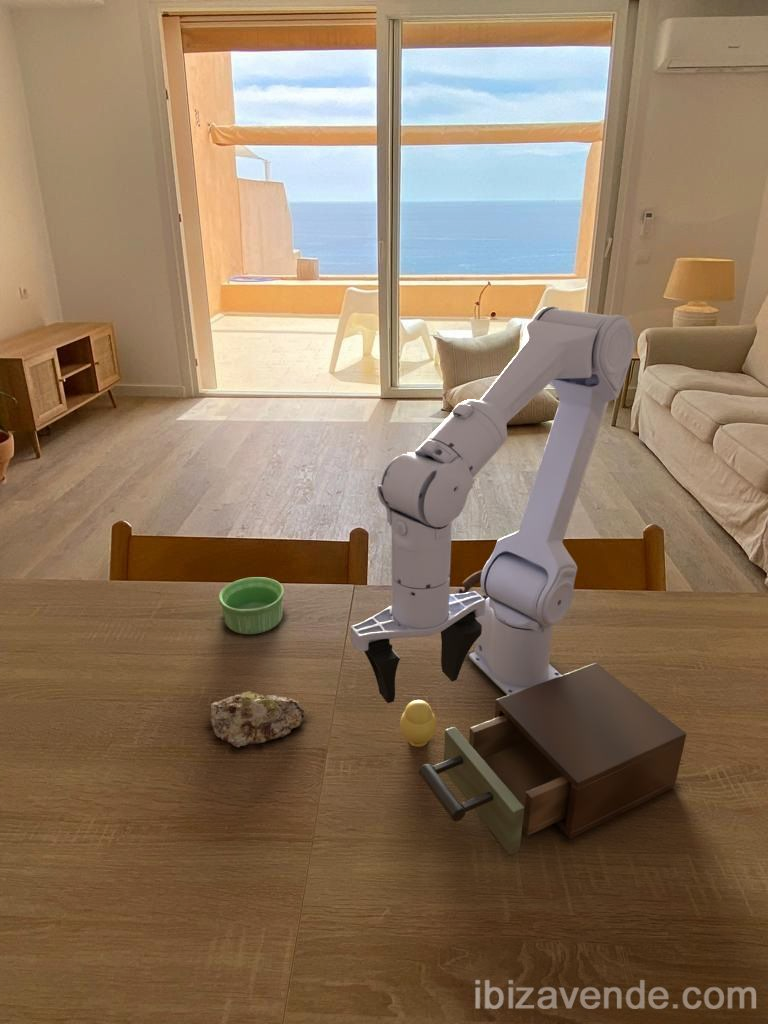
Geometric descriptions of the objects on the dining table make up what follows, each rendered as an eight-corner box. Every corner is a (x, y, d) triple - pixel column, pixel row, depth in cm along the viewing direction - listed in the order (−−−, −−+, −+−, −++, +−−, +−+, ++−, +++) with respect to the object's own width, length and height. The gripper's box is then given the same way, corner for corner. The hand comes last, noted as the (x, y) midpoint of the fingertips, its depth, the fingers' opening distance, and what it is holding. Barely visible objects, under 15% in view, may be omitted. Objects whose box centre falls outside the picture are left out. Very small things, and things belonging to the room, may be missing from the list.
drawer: (466, 875, 60) (469, 832, 58) (404, 785, 70) (404, 744, 67) (614, 804, 67) (622, 762, 65) (540, 730, 77) (544, 692, 74)
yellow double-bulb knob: (393, 734, 77) (393, 697, 75) (424, 722, 79) (425, 687, 77) (410, 757, 74) (411, 720, 72) (443, 745, 76) (444, 708, 74)
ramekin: (263, 595, 104) (260, 570, 103) (298, 620, 98) (296, 593, 96) (210, 618, 99) (206, 592, 97) (244, 645, 93) (241, 618, 91)
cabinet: (569, 839, 65) (577, 782, 62) (491, 751, 75) (495, 699, 72) (674, 787, 70) (687, 733, 67) (588, 712, 80) (596, 662, 78)
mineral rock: (200, 738, 74) (212, 675, 80) (205, 759, 77) (217, 697, 83) (302, 737, 74) (306, 675, 80) (303, 759, 77) (307, 697, 83)
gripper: (461, 542, 74) (456, 647, 80) (336, 573, 68) (340, 684, 74) (500, 571, 68) (492, 682, 74) (367, 607, 62) (369, 725, 68)
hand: (418, 686), depth 74 cm, fingers open, 7 cm apart
